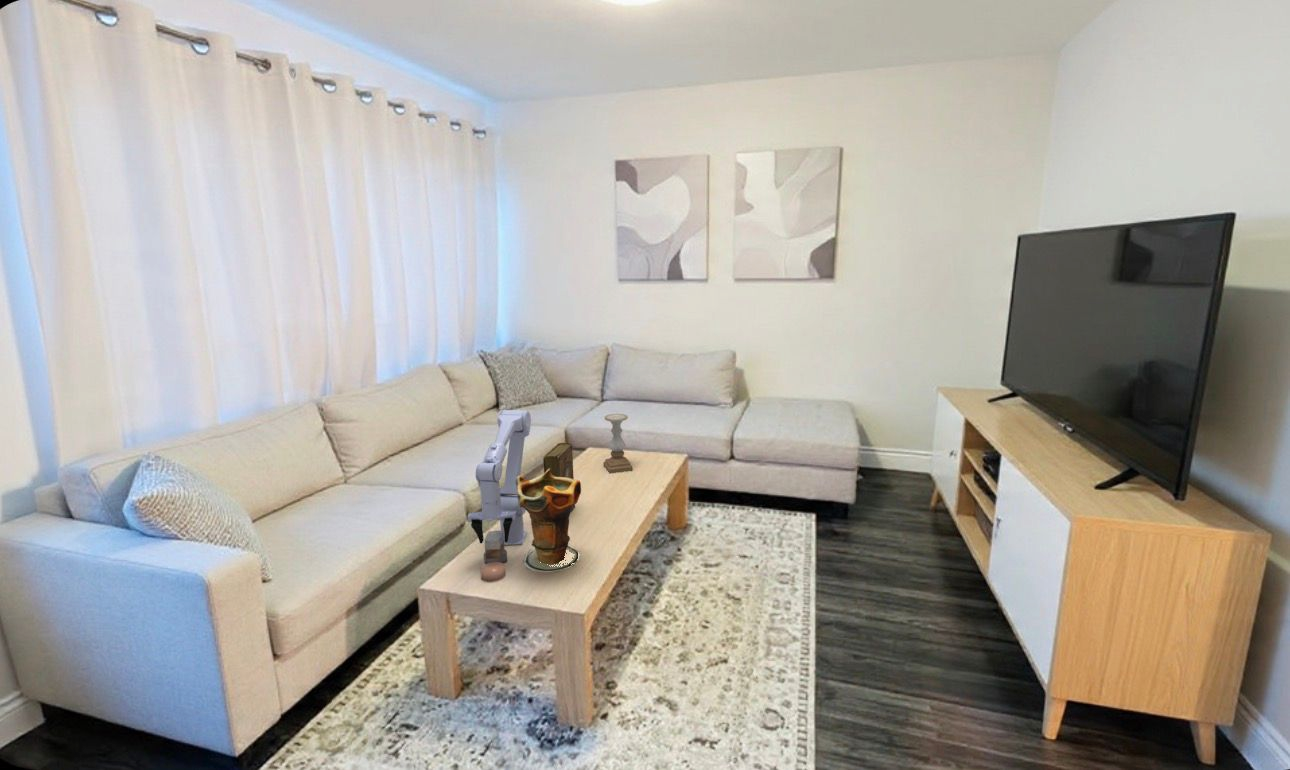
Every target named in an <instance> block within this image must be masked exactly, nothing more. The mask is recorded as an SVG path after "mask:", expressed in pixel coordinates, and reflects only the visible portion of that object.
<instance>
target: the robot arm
mask: <svg viewBox="0 0 1290 770" xmlns="http://www.w3.org/2000/svg"><path fill="white" fill-rule="evenodd" d="M531 422H532V417H531V414H530V412H529V410H527V409H523V410H522V409H521V410H513V409H510V410H508V409H500V411H499V412H498V414H497V424H498V431H497V434H496V436H495V440H494V443H491V444H490V445H489V447H488V448H487V451H486V453H485V455H484V458H483V461H482V462H480V463H478V464H477V466H476V468H475V479H476V482H477V485H478V488H480V499H481V511H477V512H472V513H468V515H467V522H470V523H471V524H470V526H471V528H472V529H473V531H474V532H475V534H476V536H477V538H478V541H479V544H483V542H484V530H483V521H486V522H493V521H495V520H499V523H500V531H503V537H504V546H515V545H517V546H518V545H523V544H524V542H525V539H526V536H527V530H524V528H525V527H524V518H523V517H524V516H523V515H524V514H525V513H526V512H527V511H526V510H525V508H523V507H520V506H519V502H518V494H517V487H516V483H515V482H516V478H517V476H521V472H522V462H523V455H524V447H525V441H526V440H525V438H527V437H529V435H530V431H531V425H532V424H531ZM508 442H509V443H508ZM507 444H508V450H507V447H506V446H507ZM506 455H507V457H506ZM505 458H507V459H506V460H507V462H506V466H505V467H506V468H505V478H504V485H503V486H501V485H500V480H501V478H502V474H503V467H504V466H503V463H504V460H505ZM500 486H501V487H500Z"/></svg>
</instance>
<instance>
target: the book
mask: <svg viewBox="0 0 1290 770" xmlns="http://www.w3.org/2000/svg"><path fill="white" fill-rule="evenodd" d="M573 460H574V459H573V444H572V443H571V442H570V443H569V442H560V443H557V444H556V445H555V446H553V447H552V448H551V449H550V450H549V451H548V452H546V453H545V454H544V455H543V474H544V473H545V472H546V471H547V470H548V469H550V468H551V473H552V475H553V476H555V477H566V478H570V479H573V480H575V477H574V461H573ZM575 508H576V504H575V505H573V506H572V507H571V513H572V512H573V511H574V510H575Z"/></svg>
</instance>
